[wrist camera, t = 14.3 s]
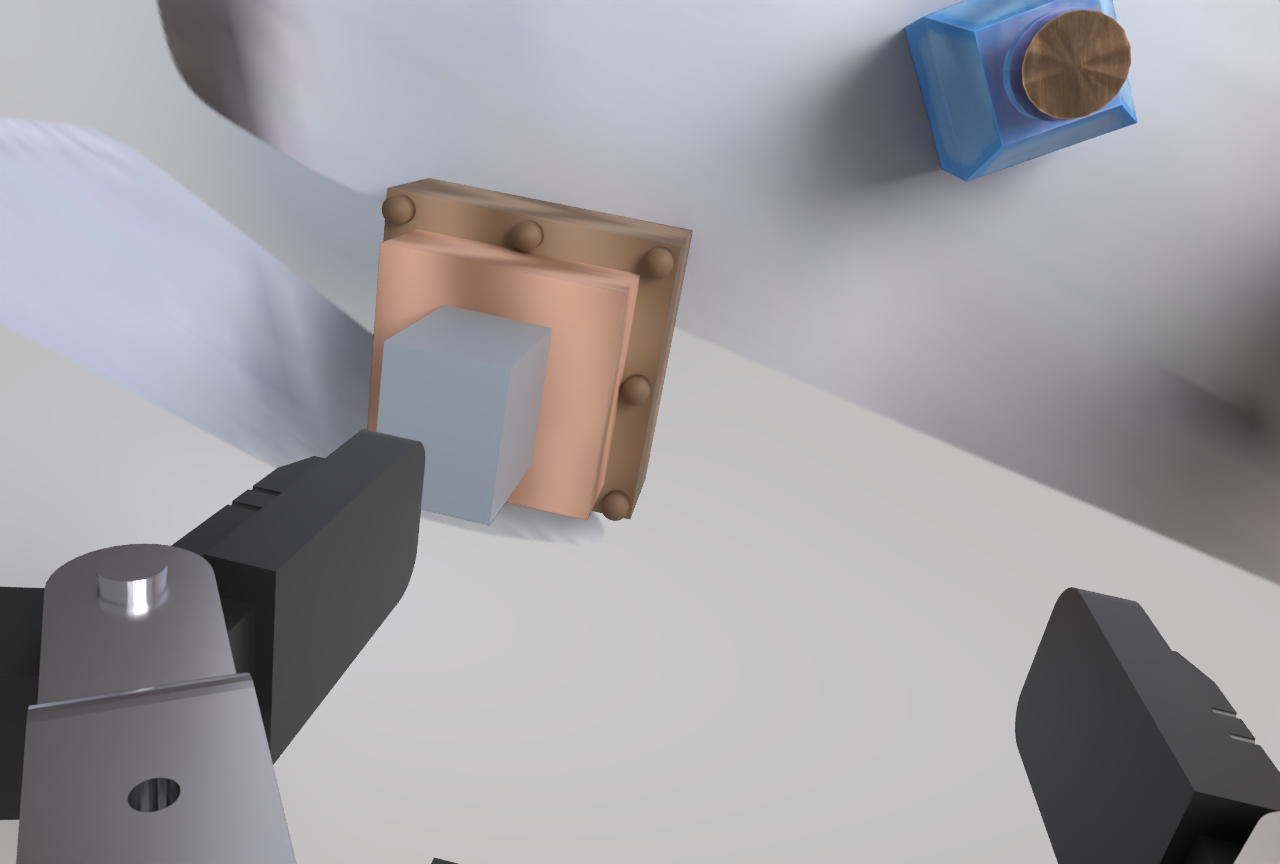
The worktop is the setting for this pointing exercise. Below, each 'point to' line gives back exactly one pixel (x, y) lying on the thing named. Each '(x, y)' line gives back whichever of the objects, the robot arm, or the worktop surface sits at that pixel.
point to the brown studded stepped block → (547, 322)
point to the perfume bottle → (1019, 79)
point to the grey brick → (466, 405)
